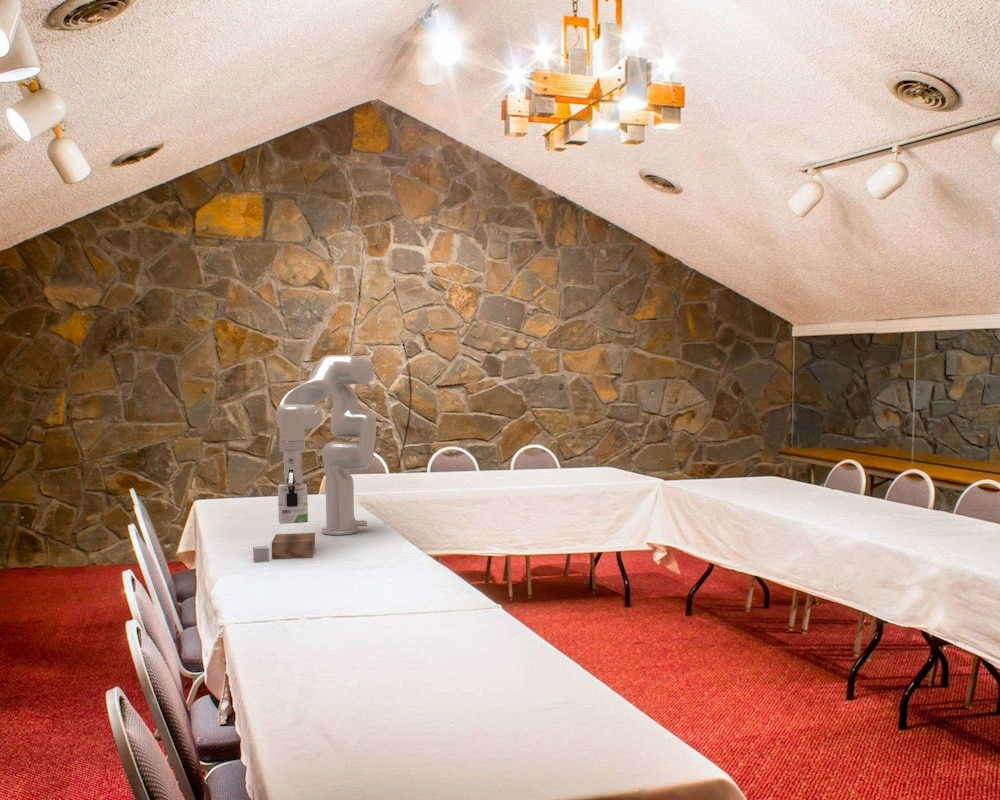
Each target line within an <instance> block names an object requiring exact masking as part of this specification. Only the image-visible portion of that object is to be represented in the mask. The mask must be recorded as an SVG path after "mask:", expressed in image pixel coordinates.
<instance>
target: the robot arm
mask: <svg viewBox="0 0 1000 800" xmlns="http://www.w3.org/2000/svg"><path fill="white" fill-rule="evenodd" d="M374 373H375V369H374V366H373V364H372V362H371V361H370V360H368V359H366V358H364V357H359V356H357V355H356V356H355V355H348V354H341V355H339V354H337V355H335V354H332V355H325V356H323V357H321V358H320V359H319V360H318V362H317V364H316V366H315V368H314V369H313V371H312V373H311V374H310V376H309V378H308V380H307V381H305V382H304V383H301V384H300V385H298V386H296V387H294V388H293V389H291V390H290V391H288V392H287V393H286V394H285V395H284V396H283V397H282V399H281V401H280V403H279V405H278V406H277V408H276V413H275V421H276V423H277V425H278V426H279V429H278V430H279V452H281V453H283V476H284V484H287V507H297V505H298V498H297V493H296V491H297V484H302V482H303V480H304V477H303V476H304V474H303V454H302V452H305V451H306V449H305V447H306V444H305V442H306V441H305V439H306V438H305V435H306V434H305V433H306V432H305V429H315V428H317V427H319V425H320V424H321V423H322V419H323V412H322V410H321V409H320V407H318V406H317V405H314V403H317V402H321V401H323V400H325V399H327V398H329V397H330V395H331V393H332V395H333V397H332V398H333V402H332V412H331V420H330V433H331V435H332V436H334V437H336V438H340V439H358V441H356V440H355V441H353V440H352V441H349V440H333V441H329V442H327V443H325V445H324V446H323V448H322V451H321V452H322V453H321V456H322V462H323V467H324V476H325V477H324V478H325V521H326V523H325V524H326V525H325V527H323V528H322V529H321V533H322V534H325V535H329V536H345V535H352V534H355V533H359V532H360V530H359V527H367V526H368V520H358V519H356V517H355V508H354V507H355V499H354V497H355V496H354V493H355V491H354V486H355V485H354V480H353V476H352V475H351V472H349V470H367V469H369V468H370V467H371V466H372V464H373V460H374V452H375V446H376V445H375V444H376V437H377V436H376V434H377V420H376V419H377V418H376V417H375V414H373V413H372V412H371V411H367V410H358V407H359V406H358V405H359V404H358V403H359V398H358V395H357V392H356V391H355V390H354V389H353V387H352V386H351V385H368V384H369V383H371V382H372V380H373V378H374V376H375V375H374ZM294 486H295V487H294ZM294 489H295V490H294Z"/></svg>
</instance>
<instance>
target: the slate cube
mask: <svg viewBox="0 0 1000 800" xmlns="http://www.w3.org/2000/svg"><path fill="white" fill-rule="evenodd" d="M269 549H270V548H269V547H268V546H267V545H261V546H260V545H259V546H253V547H252V551H253V552H252V554H253V560H252V561H254V563H264V562H269V561H270V553H269V552H270V550H269Z"/></svg>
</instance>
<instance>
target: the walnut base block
mask: <svg viewBox="0 0 1000 800" xmlns="http://www.w3.org/2000/svg"><path fill="white" fill-rule="evenodd" d="M315 551H316V533H315V532H304V533H302V532H299V533H276V534H275V535H274V537H273V539H272V541H271V559H272V560H276V559H279V560H280V559H281V560H282V559H300V558H303V559H305V558H313V557H314V553H315Z"/></svg>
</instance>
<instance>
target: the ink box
mask: <svg viewBox="0 0 1000 800" xmlns="http://www.w3.org/2000/svg"><path fill="white" fill-rule="evenodd" d="M277 487H278V488H277V490H278V491H277V495H278V496H277V497H278V499H277V501H278V508H277V509H278V523H279V524H280V525H282V524H283V525H285V524H299V523H308V521H309V516H308V515H309V514H308V512H309V511H308V485H307V484H306V483H300V484H299V483H298V484H297V491H296V493H297V498H298V505H297V507H287V484H286V483H284V484H282V483H281V484H278V485H277ZM294 487H295V486H294ZM294 490H295V489H294Z"/></svg>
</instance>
